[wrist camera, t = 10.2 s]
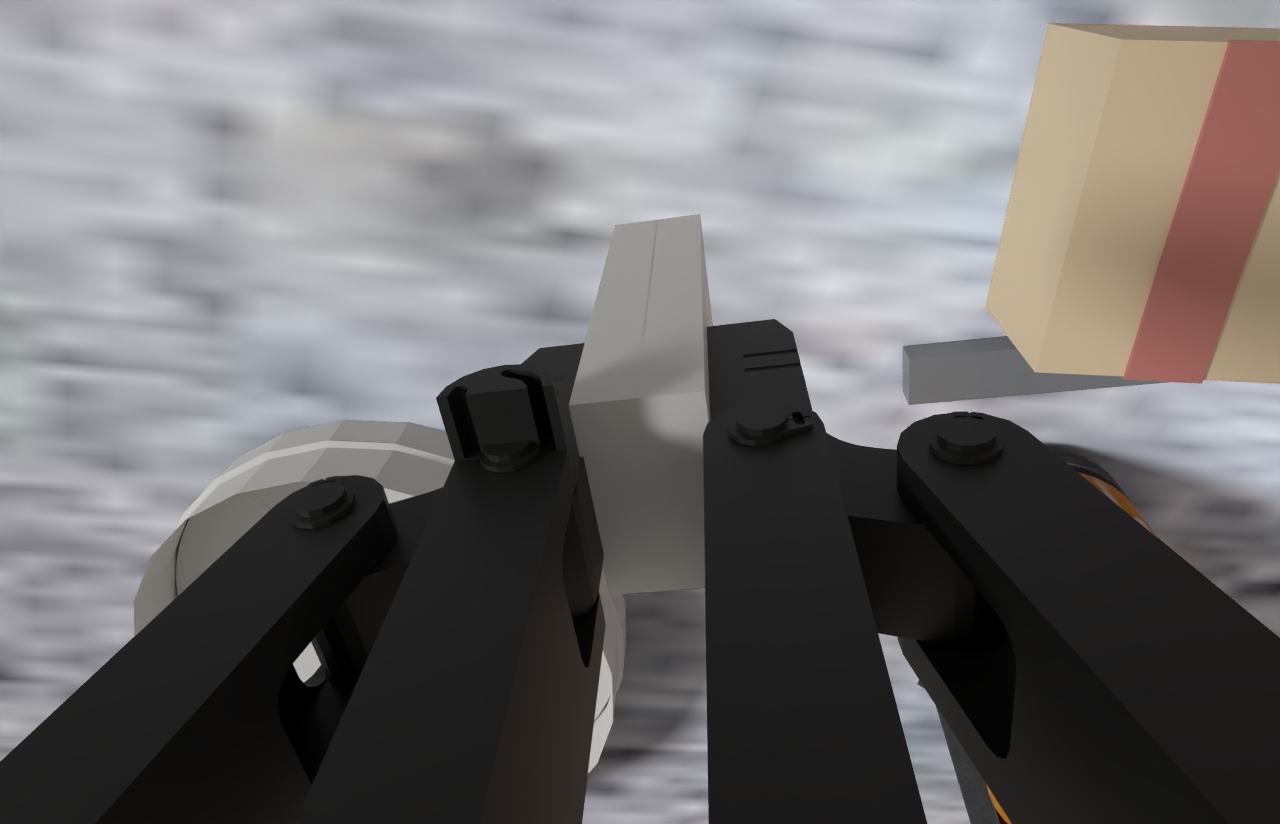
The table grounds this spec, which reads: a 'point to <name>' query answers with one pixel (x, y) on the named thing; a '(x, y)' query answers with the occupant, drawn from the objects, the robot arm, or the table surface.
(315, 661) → the dish
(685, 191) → the table surface
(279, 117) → the table surface
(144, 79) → the table surface
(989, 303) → the carton
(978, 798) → the canister
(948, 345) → the dark grey flat u-shape
